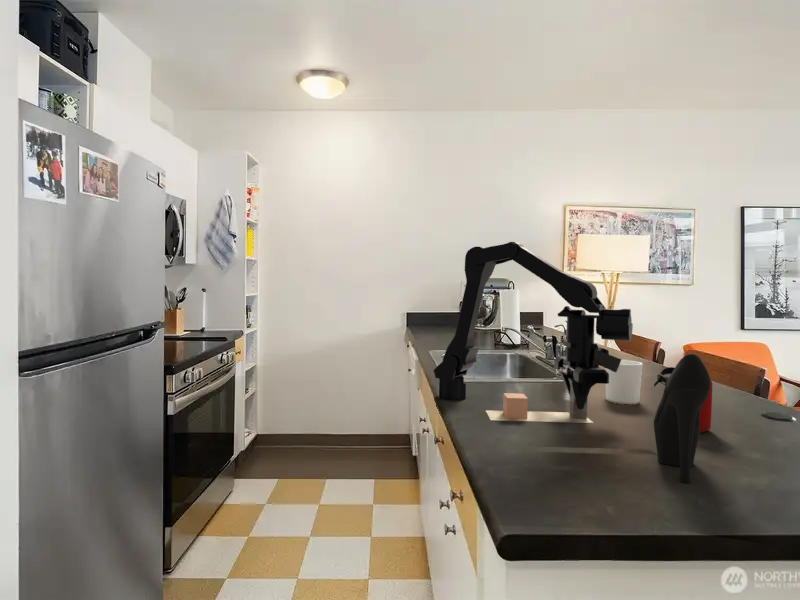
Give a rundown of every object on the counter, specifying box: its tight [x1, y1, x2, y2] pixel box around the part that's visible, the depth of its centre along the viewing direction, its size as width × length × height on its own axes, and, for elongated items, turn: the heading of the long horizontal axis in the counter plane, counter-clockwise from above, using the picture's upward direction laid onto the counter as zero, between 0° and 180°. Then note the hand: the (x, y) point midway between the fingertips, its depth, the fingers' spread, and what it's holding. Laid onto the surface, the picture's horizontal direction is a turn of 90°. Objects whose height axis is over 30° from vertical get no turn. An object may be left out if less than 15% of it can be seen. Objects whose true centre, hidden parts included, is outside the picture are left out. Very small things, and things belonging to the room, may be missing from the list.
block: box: [502, 392, 529, 419], centre depth 109 cm, size 4×4×4 cm
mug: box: [604, 359, 644, 406], centre depth 129 cm, size 11×9×10 cm
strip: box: [485, 386, 594, 424], centre depth 109 cm, size 22×8×8 cm, turn 88°
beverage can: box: [699, 378, 713, 433], centre depth 104 cm, size 7×7×12 cm
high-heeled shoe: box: [653, 353, 711, 484], centre depth 82 cm, size 8×19×20 cm, turn 161°
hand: (578, 407), depth 109 cm, fingers closed on strip, 2 cm apart
